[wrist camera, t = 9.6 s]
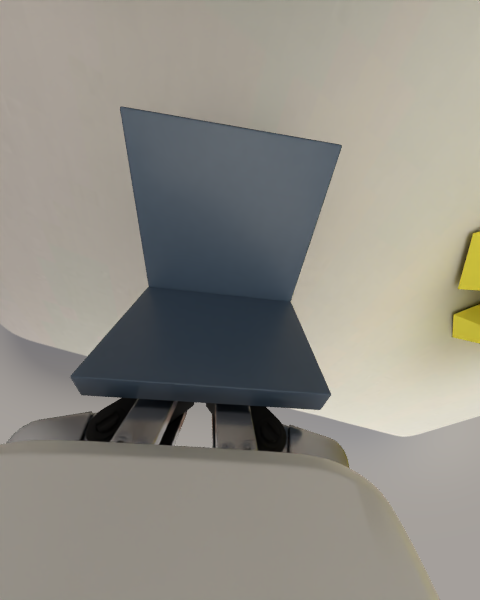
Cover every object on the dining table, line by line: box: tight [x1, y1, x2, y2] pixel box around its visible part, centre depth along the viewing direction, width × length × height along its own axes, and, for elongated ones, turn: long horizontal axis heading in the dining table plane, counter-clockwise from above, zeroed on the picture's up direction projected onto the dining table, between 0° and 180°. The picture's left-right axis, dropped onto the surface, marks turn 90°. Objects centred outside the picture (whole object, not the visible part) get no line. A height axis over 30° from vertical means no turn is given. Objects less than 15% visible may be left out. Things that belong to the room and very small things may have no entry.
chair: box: [71, 107, 342, 410], centre depth 9 cm, size 8×8×12 cm
